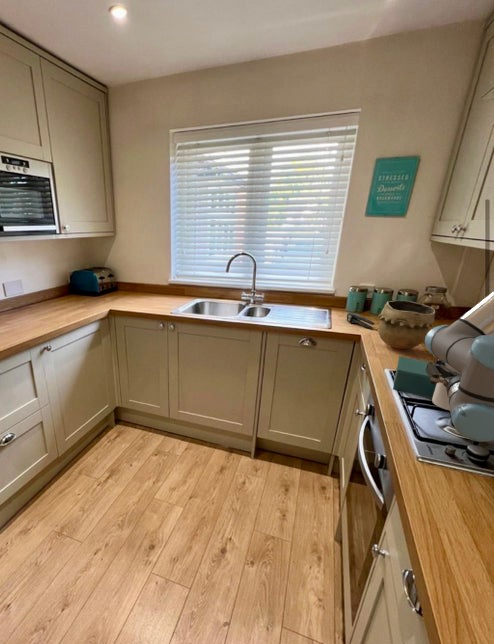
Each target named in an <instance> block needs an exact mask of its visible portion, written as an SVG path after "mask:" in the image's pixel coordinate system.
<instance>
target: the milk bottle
mask: <svg viewBox="0 0 494 644" xmlns="http://www.w3.org/2000/svg"><path fill="white" fill-rule="evenodd" d="M444 366H445V367H446V368H448V369H449V370H451V371H452V372H457V373H458V374H460V375H462V374H461V373H460V372H458V371H457V370H455V369H454V368H452V367H451V366H449V365H448V364H446V363H445V364H444ZM431 401H432V402H431V403H432V404H434V405H435V406H437V407H438V408H441V409H443V410H446V411H449V412H451V411H450V406H449V400H448V396H447V390H446V387H445V386H444V385H443V383H437V385H436V388H435V391H434V395H433V398H431Z"/></svg>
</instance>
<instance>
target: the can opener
mask: <svg viewBox="0 0 494 644" xmlns="http://www.w3.org/2000/svg"><path fill="white" fill-rule="evenodd" d="M346 321H347V322H348V323H350V324H358V325H360V326H362V327H364V328H366V329H369V330H373V326H374V325H375V322H374V321H372V320H370V319H368V318H366V317H364V316H362V315H360V314H358V313H354V312H348V313H347V314H346ZM371 325H372V326H371Z"/></svg>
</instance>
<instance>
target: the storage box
mask: <svg viewBox="0 0 494 644" xmlns="http://www.w3.org/2000/svg"><path fill="white" fill-rule="evenodd" d="M428 362H429V361H425V360H420V359H415V358H410V357H405V356H399V355H398V360H397V366H396V371H395V374H394V380H393V387H392V389H393V390H396V391H400V390H401V391H400V392H404V393H408V394H413V395H416V396H417V395H418V396H422V397H426V398H431V399H432V398H433V395H434V391H435V388H436V385H437V383H436V384H431V383H430V380H431V379H430V378H429V376H428V374H427V372H426V367H427V364H428ZM432 363H433V364H434V362H432Z"/></svg>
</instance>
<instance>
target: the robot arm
mask: <svg viewBox="0 0 494 644" xmlns="http://www.w3.org/2000/svg"><path fill="white" fill-rule="evenodd" d="M424 346H425V348H426V350H427V351H428V352H429V353H430V354H432V356H433V357H434V358H435V359H437V360H434V361H433V362H432V361H427V362H428V364H427V367H426V372H427V374H428V376H429V378H430V379H431V380H430V383H431V384H436V383H443V385H444V386H445V387H446V390H447V396H448V400H449V406H450V411H449V412H450V421H451V423H452V425H453V427H454V429H455V430H456V431H457V433H458V434H459V435H461V436H462V437H463V438H465V439H468V440H469V441H470V440H471V441H474V442H480V443H483V442H491V441H494V290H493V291H491V292H490V293H489V294H488V295H487V296H485V298H483V299H482V300H481V301H479V302H478V303H477V304H475V305H474V306H473V307H471V309H469V310H468V311H467V312H465V313H464V314H463V315H462V316H460V317H459V318H458V319H457V320H456V321H454V322H452V323H451V324H440V325H437V326H433V327H432V328H431V329H429V332H428V333H427V335H426V337H425V341H424ZM438 359H439V360H438ZM433 363H434V364H433ZM445 363H446V364H448V365H449V366H451V367H452V368H454V369H455V370H457V371H458V372H460V373H461V374H462V375H460V374H458V373H457V372H452V371H451V370H449V369H448V368H446V367H445V366H444V364H445Z"/></svg>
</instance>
